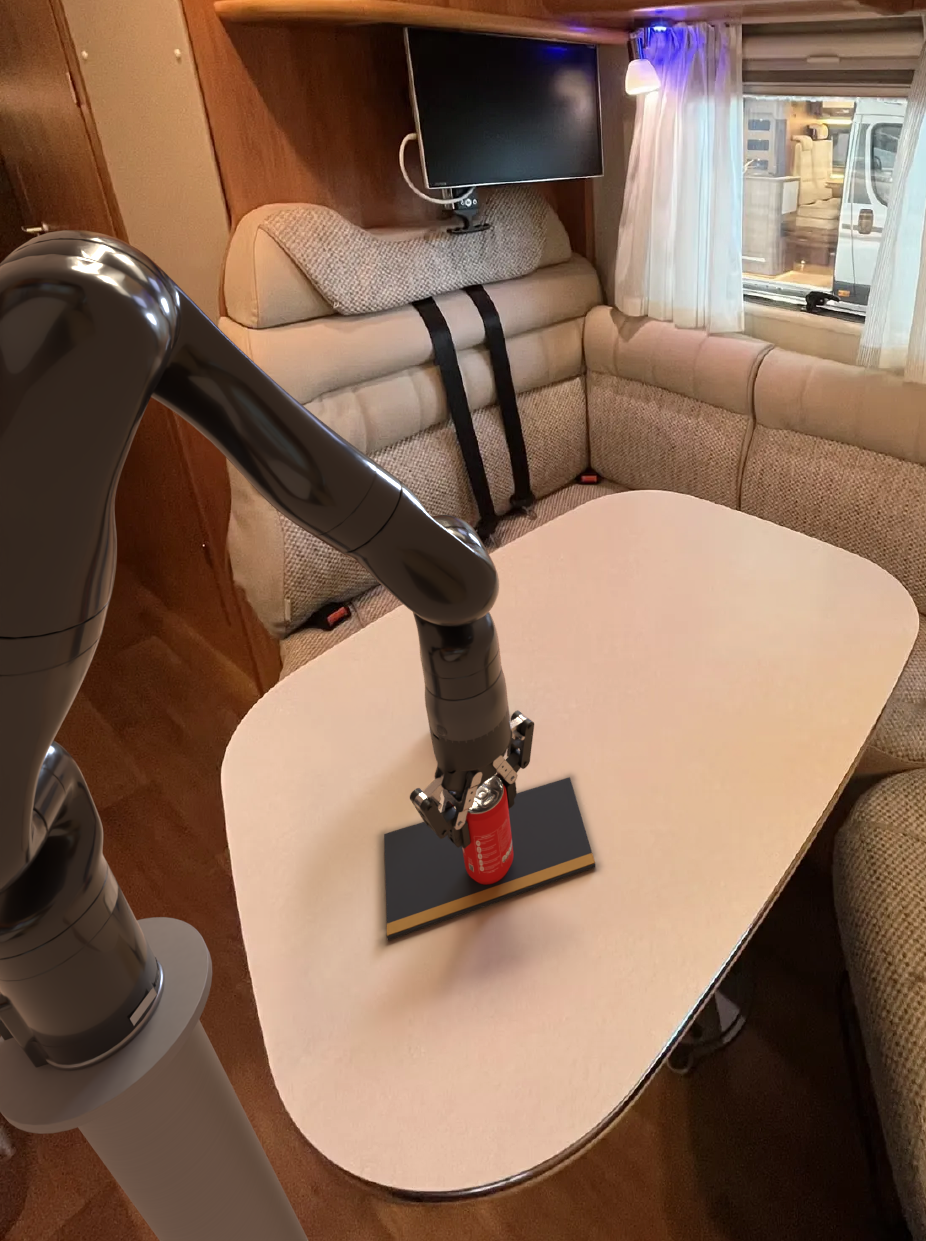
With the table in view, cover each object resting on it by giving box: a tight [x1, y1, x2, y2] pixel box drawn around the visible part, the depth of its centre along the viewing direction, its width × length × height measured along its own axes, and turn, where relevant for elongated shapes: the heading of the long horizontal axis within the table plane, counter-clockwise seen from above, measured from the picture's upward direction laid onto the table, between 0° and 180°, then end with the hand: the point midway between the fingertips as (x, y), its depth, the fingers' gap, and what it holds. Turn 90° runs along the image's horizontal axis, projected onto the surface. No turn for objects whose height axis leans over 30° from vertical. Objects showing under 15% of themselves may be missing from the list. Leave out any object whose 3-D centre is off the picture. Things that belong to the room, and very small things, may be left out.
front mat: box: [383, 776, 596, 941], centre depth 83 cm, size 22×12×1 cm, turn 111°
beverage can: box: [462, 774, 513, 885], centre depth 78 cm, size 5×5×12 cm
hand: (484, 821), depth 78 cm, fingers closed on beverage can, 5 cm apart
